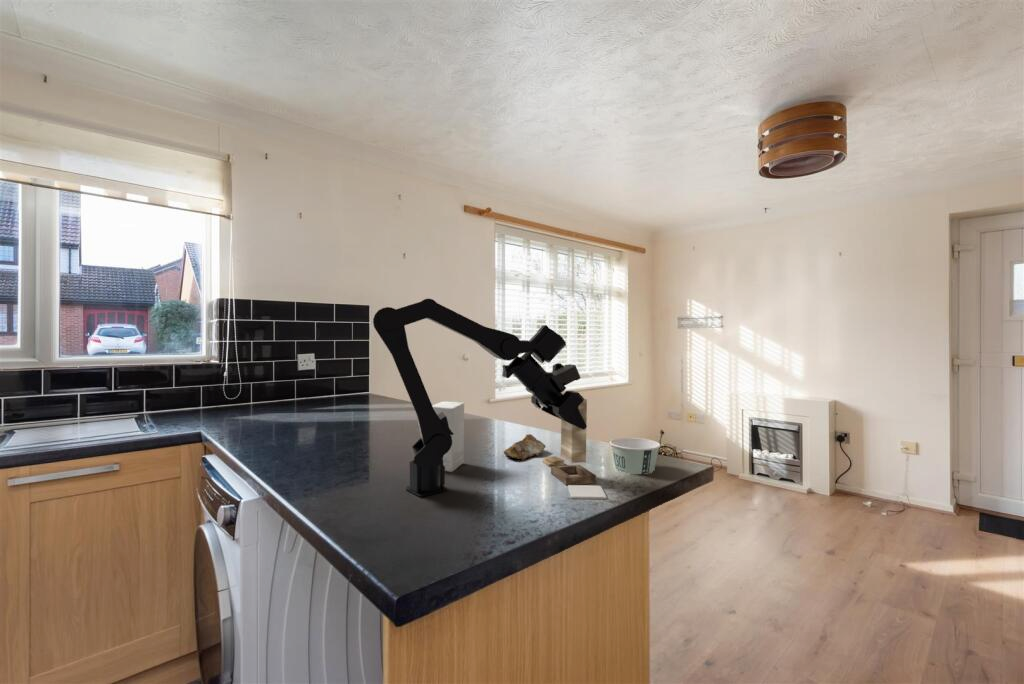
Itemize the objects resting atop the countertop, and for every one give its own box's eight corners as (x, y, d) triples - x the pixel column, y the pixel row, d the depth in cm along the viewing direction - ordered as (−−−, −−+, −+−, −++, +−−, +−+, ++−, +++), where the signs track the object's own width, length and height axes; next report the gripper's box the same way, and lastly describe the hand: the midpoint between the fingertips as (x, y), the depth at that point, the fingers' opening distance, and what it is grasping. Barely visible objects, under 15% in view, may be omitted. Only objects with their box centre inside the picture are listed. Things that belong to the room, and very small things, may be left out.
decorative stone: (551, 434, 131) (527, 452, 118) (551, 449, 131) (528, 468, 118) (521, 430, 135) (495, 447, 122) (521, 444, 136) (495, 463, 123)
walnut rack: (566, 485, 101) (566, 478, 101) (551, 473, 110) (551, 466, 110) (596, 482, 103) (596, 475, 103) (579, 471, 112) (579, 464, 112)
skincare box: (441, 461, 120) (441, 400, 120) (465, 463, 118) (466, 402, 118) (427, 470, 112) (427, 405, 111) (453, 472, 110) (453, 406, 110)
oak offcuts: (549, 466, 116) (549, 461, 116) (542, 461, 120) (542, 456, 120) (565, 465, 117) (565, 460, 117) (557, 460, 121) (557, 455, 121)
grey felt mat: (571, 498, 93) (571, 496, 93) (567, 487, 100) (567, 485, 100) (606, 498, 93) (606, 496, 93) (600, 487, 100) (600, 485, 100)
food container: (671, 472, 112) (671, 445, 112) (633, 479, 106) (634, 451, 106) (635, 460, 122) (635, 435, 122) (599, 466, 116) (599, 440, 116)
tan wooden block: (571, 463, 103) (572, 399, 103) (560, 456, 109) (561, 396, 109) (585, 462, 104) (586, 399, 104) (574, 455, 110) (575, 395, 110)
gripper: (575, 353, 96) (622, 405, 99) (544, 350, 114) (584, 394, 117) (539, 392, 94) (588, 444, 97) (512, 383, 112) (555, 427, 115)
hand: (579, 425), depth 107 cm, fingers closed on tan wooden block, 6 cm apart
